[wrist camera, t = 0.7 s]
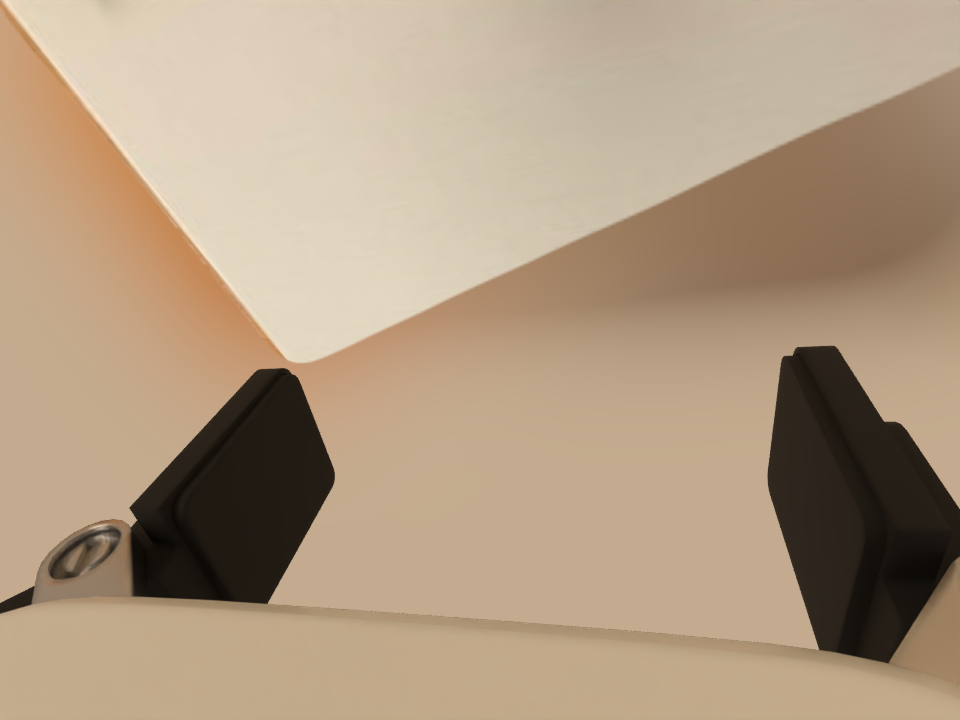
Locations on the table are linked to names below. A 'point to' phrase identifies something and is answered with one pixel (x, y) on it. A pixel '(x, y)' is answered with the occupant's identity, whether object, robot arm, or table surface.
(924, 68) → the table surface
